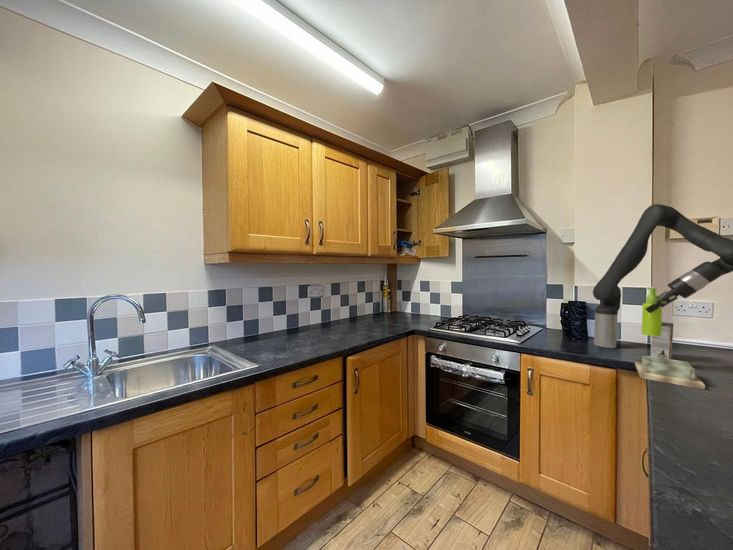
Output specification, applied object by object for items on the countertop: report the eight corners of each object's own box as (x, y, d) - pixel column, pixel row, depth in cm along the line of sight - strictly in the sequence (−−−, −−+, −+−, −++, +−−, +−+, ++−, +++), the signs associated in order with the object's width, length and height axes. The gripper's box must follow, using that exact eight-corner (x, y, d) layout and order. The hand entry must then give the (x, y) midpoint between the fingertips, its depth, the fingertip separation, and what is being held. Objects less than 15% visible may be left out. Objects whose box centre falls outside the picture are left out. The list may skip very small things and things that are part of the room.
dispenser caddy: (640, 377, 110) (641, 363, 109) (635, 365, 124) (635, 352, 124) (704, 389, 100) (705, 373, 100) (690, 374, 114) (691, 360, 114)
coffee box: (652, 354, 142) (654, 321, 141) (672, 357, 137) (673, 323, 136) (649, 357, 136) (651, 323, 135) (669, 361, 131) (671, 325, 130)
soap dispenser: (657, 334, 127) (658, 287, 127) (663, 336, 121) (664, 288, 121) (639, 332, 130) (640, 287, 130) (644, 335, 124) (645, 287, 124)
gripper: (675, 276, 126) (636, 302, 133) (683, 277, 114) (640, 305, 122) (692, 290, 123) (651, 315, 130) (702, 292, 111) (657, 319, 119)
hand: (646, 310), depth 126 cm, fingers closed on soap dispenser, 6 cm apart
